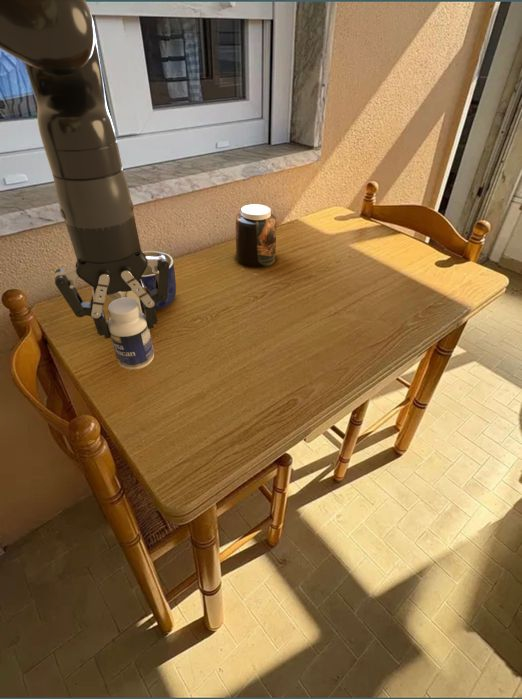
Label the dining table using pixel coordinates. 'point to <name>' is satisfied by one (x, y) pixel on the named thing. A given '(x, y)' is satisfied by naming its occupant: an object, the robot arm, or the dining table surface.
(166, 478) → the dining table surface
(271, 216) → the jar
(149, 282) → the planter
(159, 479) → the dining table surface
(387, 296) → the dining table surface
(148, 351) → the pill bottle
